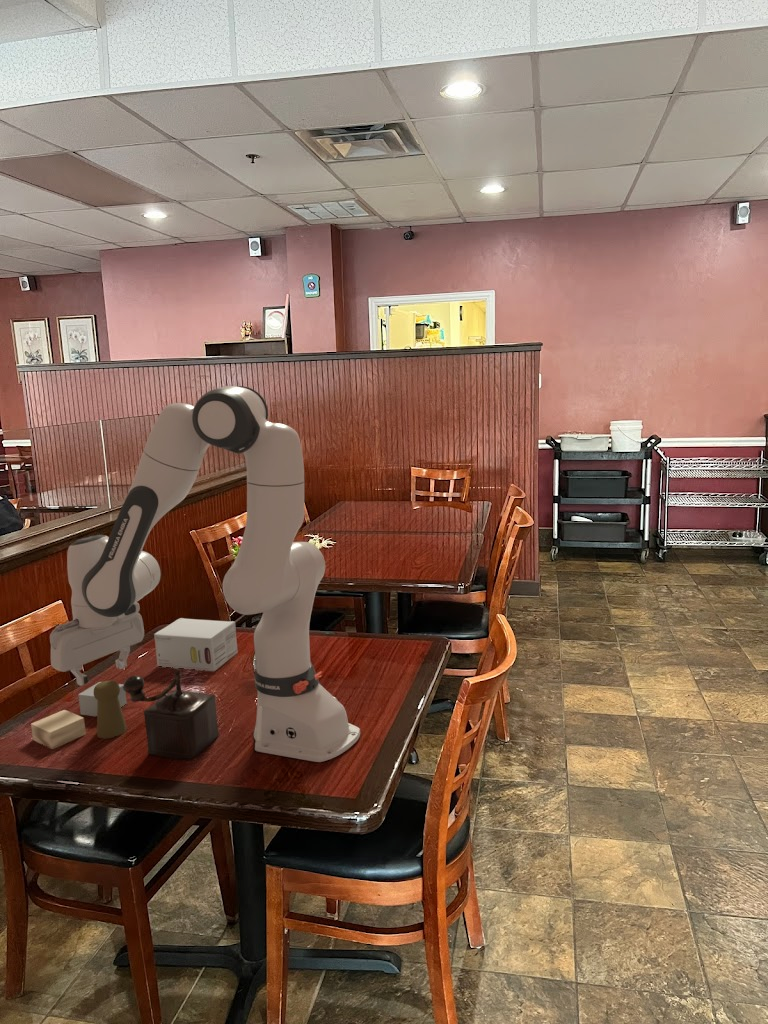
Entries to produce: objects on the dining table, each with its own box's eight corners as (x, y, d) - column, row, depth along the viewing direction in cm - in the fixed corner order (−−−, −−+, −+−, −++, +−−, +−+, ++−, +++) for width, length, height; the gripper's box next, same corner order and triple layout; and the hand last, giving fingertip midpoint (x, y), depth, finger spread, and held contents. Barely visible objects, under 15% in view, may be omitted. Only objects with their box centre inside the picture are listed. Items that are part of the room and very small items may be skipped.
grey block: (126, 704, 166) (124, 684, 165) (106, 718, 160) (103, 697, 159) (102, 701, 168) (99, 681, 168) (80, 715, 162) (78, 694, 161)
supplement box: (156, 668, 187) (152, 633, 185) (183, 649, 200) (180, 617, 198) (214, 672, 183) (211, 637, 181) (238, 653, 195) (235, 620, 193)
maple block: (86, 735, 153) (83, 717, 152) (52, 750, 147) (49, 732, 146) (66, 726, 157) (64, 709, 156) (33, 741, 151) (30, 723, 150)
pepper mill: (174, 729, 153) (165, 649, 149) (220, 735, 149) (212, 653, 146) (127, 768, 138) (117, 680, 135) (177, 775, 135) (167, 685, 131)
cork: (131, 724, 156) (125, 677, 154) (118, 738, 150) (112, 689, 148) (105, 724, 156) (99, 677, 154) (91, 738, 151) (84, 689, 148)
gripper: (58, 631, 138) (66, 698, 141) (145, 601, 155) (151, 661, 157) (39, 625, 141) (47, 691, 144) (126, 597, 158) (132, 656, 161)
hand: (102, 675), depth 151 cm, fingers open, 8 cm apart
